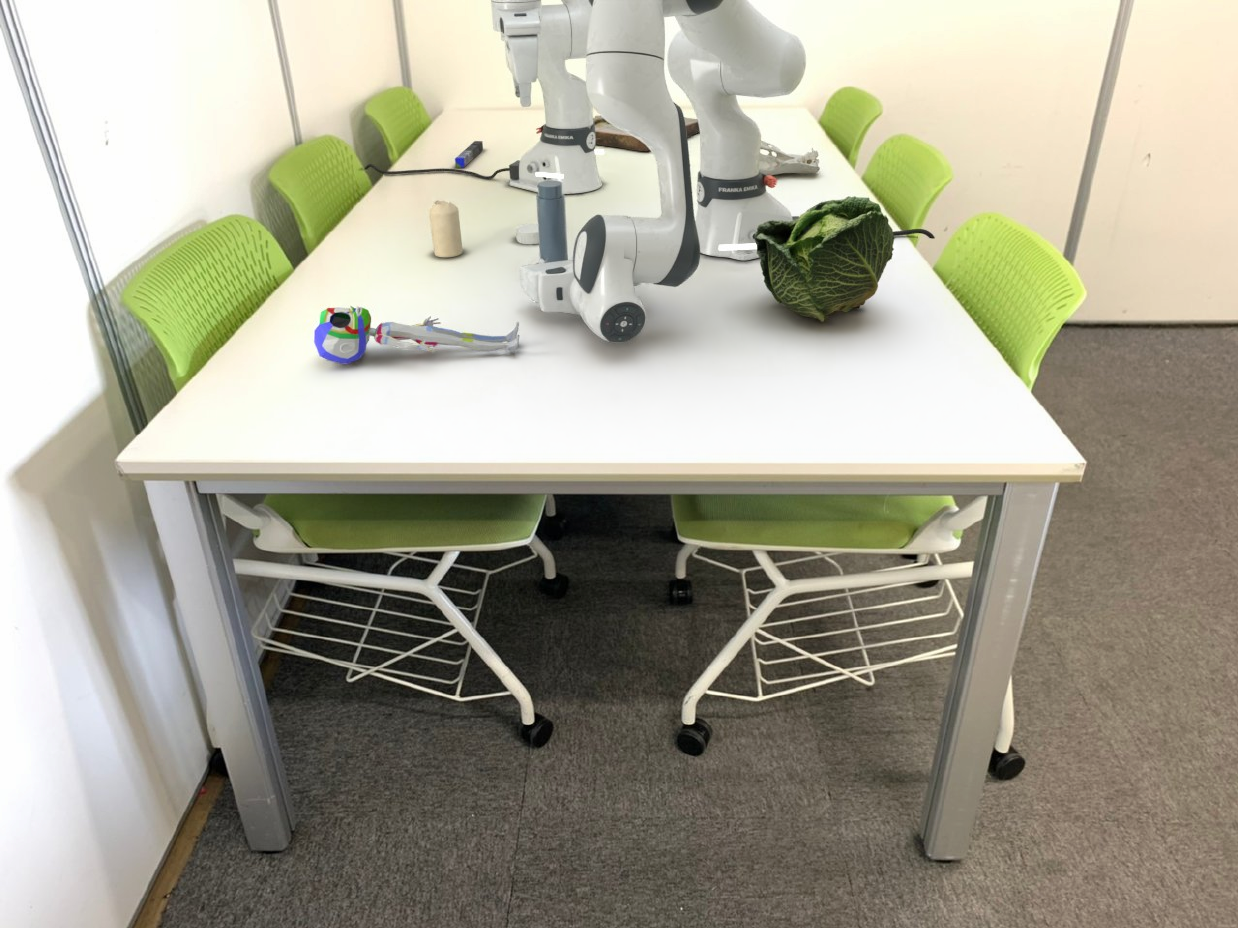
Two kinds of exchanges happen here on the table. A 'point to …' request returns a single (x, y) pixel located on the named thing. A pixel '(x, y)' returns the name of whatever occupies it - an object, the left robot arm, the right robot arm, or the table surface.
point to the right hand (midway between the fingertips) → (570, 259)
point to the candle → (445, 229)
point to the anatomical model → (787, 161)
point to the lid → (527, 234)
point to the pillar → (468, 154)
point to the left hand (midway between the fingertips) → (523, 101)
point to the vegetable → (826, 256)
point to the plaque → (621, 139)
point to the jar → (552, 221)
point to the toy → (392, 335)
